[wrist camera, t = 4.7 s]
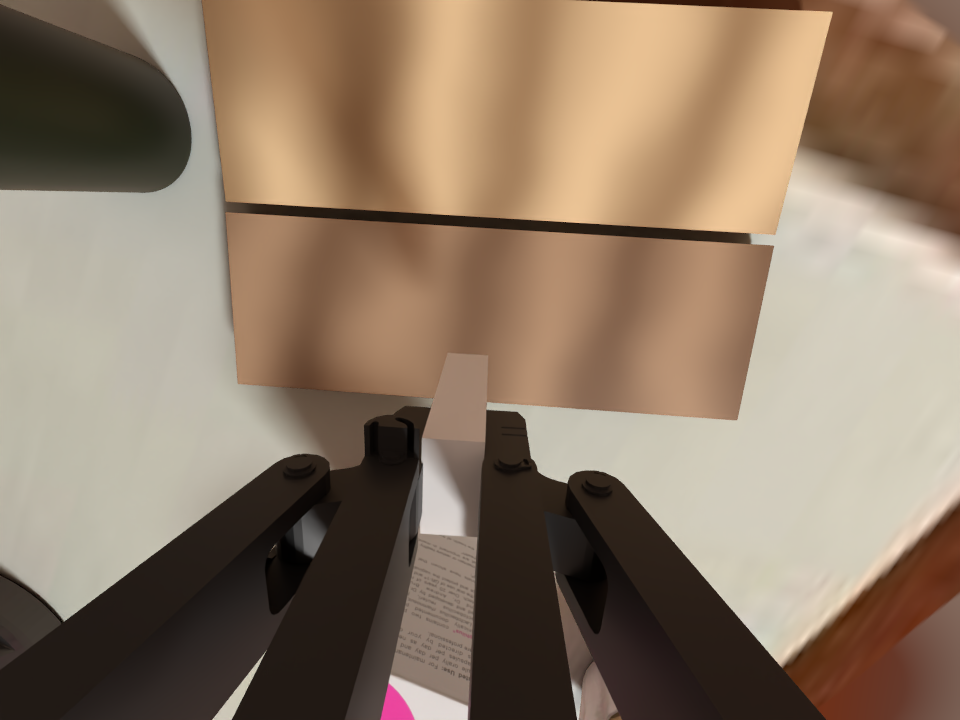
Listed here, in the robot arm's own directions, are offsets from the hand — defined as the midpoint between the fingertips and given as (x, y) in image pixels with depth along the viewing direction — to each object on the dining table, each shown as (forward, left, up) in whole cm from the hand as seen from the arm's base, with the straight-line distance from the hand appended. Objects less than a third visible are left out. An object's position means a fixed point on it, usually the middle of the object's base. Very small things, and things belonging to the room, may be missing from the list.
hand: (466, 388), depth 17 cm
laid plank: (+1, +10, -7) cm, 12 cm away
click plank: (+1, +1, -6) cm, 6 cm away
